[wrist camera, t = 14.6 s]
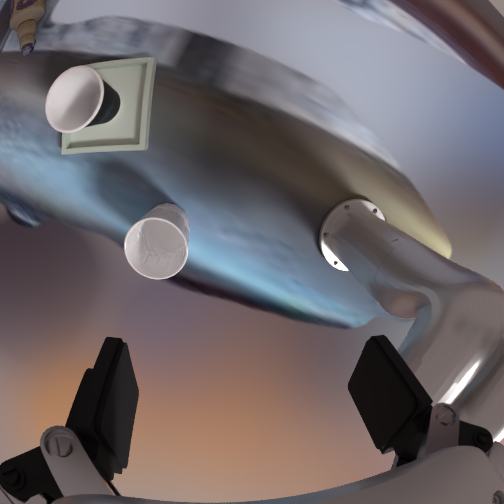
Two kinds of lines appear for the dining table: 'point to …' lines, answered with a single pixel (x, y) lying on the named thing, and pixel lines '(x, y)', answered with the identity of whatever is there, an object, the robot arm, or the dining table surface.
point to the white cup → (158, 242)
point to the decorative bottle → (26, 21)
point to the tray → (131, 111)
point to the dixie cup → (80, 100)
